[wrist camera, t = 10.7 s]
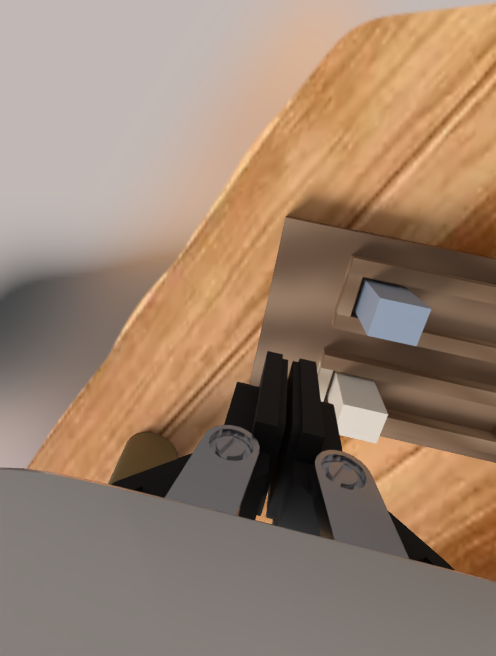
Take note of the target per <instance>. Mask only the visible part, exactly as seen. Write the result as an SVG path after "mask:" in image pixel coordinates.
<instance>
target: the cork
mask: <svg viewBox="0 0 496 656" xmlns="http://www.w3.org/2000/svg"><path fill="white" fill-rule="evenodd" d="M175 459H178V456H177V452H176V450H175V448H174V446H173V445H172V444H171V443H170V442H169V441H168V440H167V439H166V438H164V437H162V436H161V435H158V434H155V433H150V432H142V433H138V434H136V435H134V436H132V437H131V438H130V439H129V441H128V442H127V443H126V446H125V448H124V450H123V452H122V454H121V457H120V459H119V461H118V463H117V465H116V467H115V470H114V472H113V474H112V476H111V478H110V481H109V483H108V484H112V483H114V482H116V481H118V480H121V479H123V478H126V477H129V476H132V475H134V474H137V473H140V472H143V471H145V470H148V469H151V468H153V467H156V466H159V465H162V464H164V463H167V462H170V461H172V460H175Z"/></svg>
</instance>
